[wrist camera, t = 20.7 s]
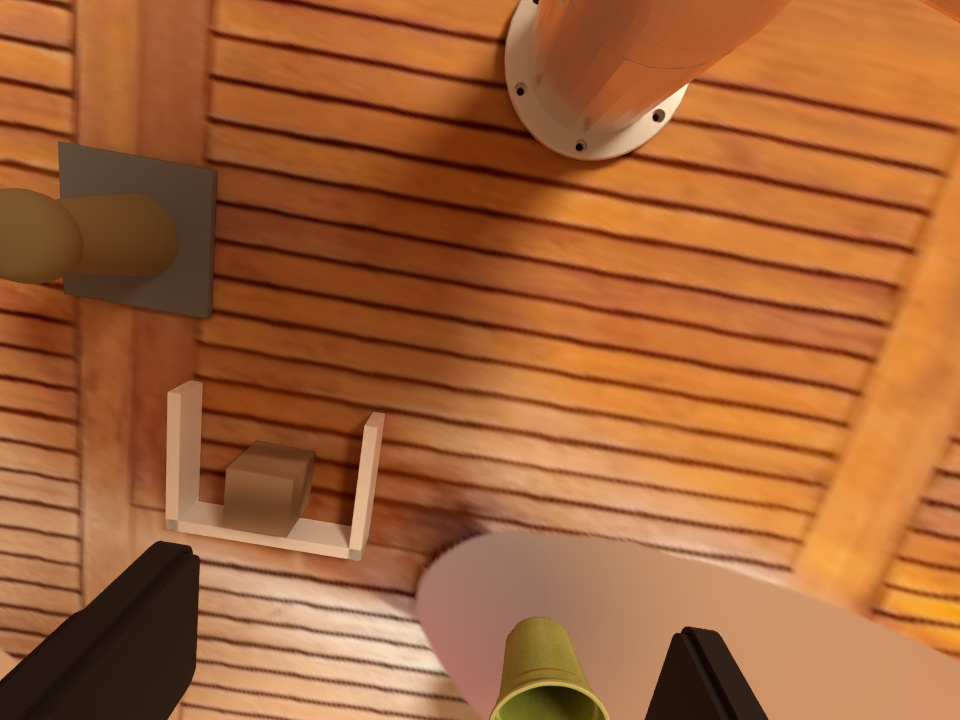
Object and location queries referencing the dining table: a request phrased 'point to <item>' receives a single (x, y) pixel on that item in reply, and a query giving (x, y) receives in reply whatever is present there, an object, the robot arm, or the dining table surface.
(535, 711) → the plant pot
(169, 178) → the mat
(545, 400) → the dining table surface
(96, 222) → the cork
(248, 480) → the walnut block
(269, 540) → the tray
